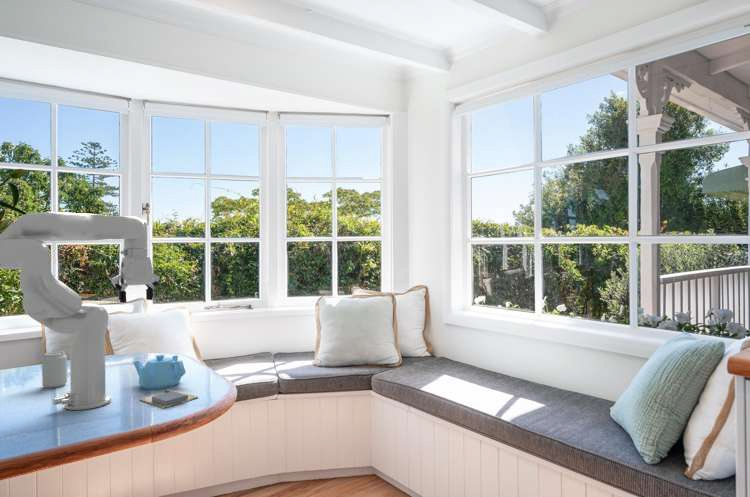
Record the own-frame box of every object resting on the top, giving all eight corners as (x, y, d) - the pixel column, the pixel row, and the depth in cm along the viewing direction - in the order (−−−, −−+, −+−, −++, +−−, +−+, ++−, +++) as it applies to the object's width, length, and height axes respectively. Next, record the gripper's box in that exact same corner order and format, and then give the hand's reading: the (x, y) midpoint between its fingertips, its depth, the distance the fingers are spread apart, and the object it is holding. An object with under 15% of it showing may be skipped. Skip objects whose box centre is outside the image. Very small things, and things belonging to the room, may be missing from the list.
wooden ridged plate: (163, 408, 147) (163, 403, 147) (139, 400, 155) (139, 395, 155) (197, 398, 157) (197, 393, 157) (173, 391, 165) (173, 386, 165)
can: (37, 387, 172) (37, 353, 172) (59, 382, 179) (59, 349, 179) (49, 389, 169) (49, 355, 169) (71, 384, 175) (71, 351, 175)
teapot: (139, 394, 163) (139, 362, 163) (133, 384, 175) (132, 354, 175) (186, 386, 171) (186, 356, 171) (177, 377, 184) (177, 349, 184)
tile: (186, 400, 153) (165, 406, 148) (172, 396, 158) (151, 401, 152) (186, 395, 153) (165, 401, 148) (172, 391, 158) (151, 396, 152)
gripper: (116, 253, 164) (117, 304, 164) (164, 253, 178) (164, 299, 178) (106, 253, 168) (106, 302, 168) (153, 253, 182) (153, 298, 182)
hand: (136, 301), depth 173 cm, fingers open, 9 cm apart
